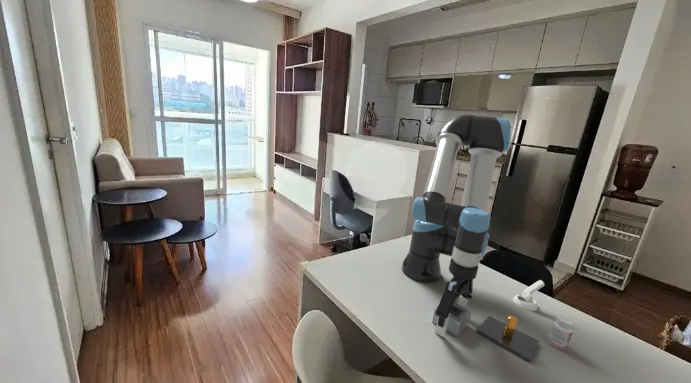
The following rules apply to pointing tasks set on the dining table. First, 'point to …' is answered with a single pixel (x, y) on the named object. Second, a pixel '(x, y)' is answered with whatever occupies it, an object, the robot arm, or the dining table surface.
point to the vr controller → (529, 296)
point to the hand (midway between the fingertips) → (450, 324)
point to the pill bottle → (561, 332)
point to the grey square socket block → (456, 319)
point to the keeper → (508, 336)
